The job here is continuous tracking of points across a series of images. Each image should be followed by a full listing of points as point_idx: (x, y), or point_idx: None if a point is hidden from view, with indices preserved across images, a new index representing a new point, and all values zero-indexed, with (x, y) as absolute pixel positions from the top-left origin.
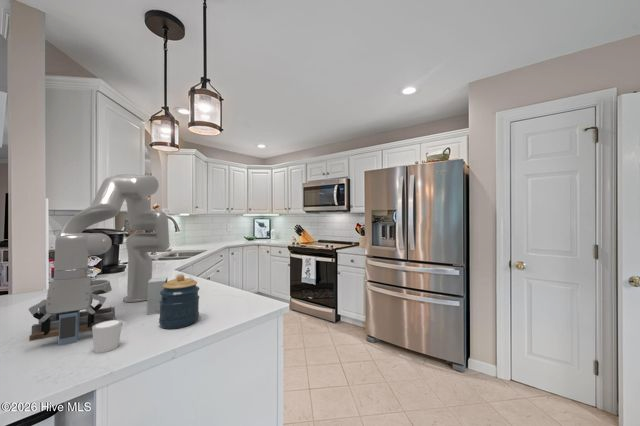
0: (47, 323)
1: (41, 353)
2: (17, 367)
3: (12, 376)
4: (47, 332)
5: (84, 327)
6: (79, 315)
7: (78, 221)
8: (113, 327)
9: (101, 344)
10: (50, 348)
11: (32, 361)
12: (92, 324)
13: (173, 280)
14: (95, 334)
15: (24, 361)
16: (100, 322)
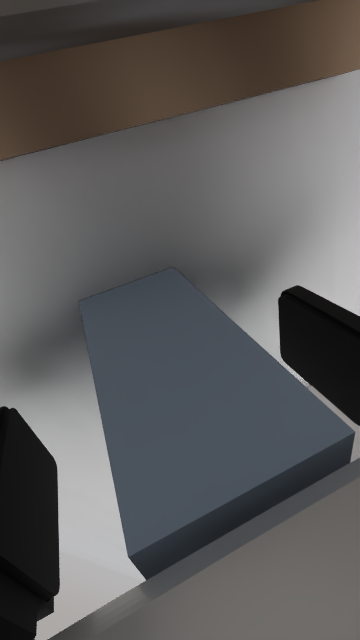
0: (55, 574)
1: (86, 446)
2: (80, 529)
3: (114, 556)
4: (55, 475)
5: (168, 117)
6: (280, 376)
7: None
8: None
9: None
10: (92, 403)
11: (104, 496)
12: (229, 71)
13: None
14: None
15: (66, 501)
16: (290, 29)
